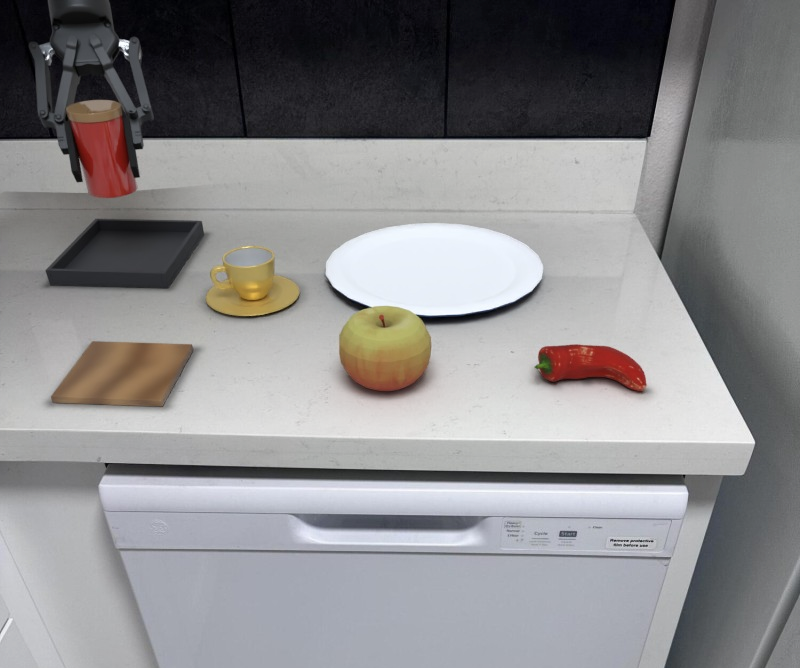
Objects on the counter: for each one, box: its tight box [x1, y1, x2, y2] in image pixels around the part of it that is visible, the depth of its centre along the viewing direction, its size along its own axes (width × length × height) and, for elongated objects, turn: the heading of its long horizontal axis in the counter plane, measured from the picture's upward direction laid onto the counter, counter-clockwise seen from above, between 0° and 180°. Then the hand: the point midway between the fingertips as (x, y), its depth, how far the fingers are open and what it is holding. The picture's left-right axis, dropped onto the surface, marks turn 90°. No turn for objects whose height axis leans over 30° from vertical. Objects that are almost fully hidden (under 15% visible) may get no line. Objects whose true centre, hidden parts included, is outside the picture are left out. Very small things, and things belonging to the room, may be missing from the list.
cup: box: [205, 245, 300, 317], centre depth 100 cm, size 12×12×5 cm
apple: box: [338, 306, 432, 392], centre depth 84 cm, size 10×10×8 cm
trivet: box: [50, 340, 194, 408], centre depth 88 cm, size 12×12×1 cm
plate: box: [325, 222, 544, 318], centre depth 106 cm, size 29×29×2 cm
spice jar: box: [66, 99, 139, 199], centre depth 101 cm, size 7×7×10 cm
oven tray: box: [44, 218, 205, 289], centre depth 111 cm, size 16×18×2 cm
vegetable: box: [533, 344, 647, 392], centre depth 85 cm, size 4×5×12 cm
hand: (106, 174), depth 100 cm, fingers closed on spice jar, 6 cm apart
